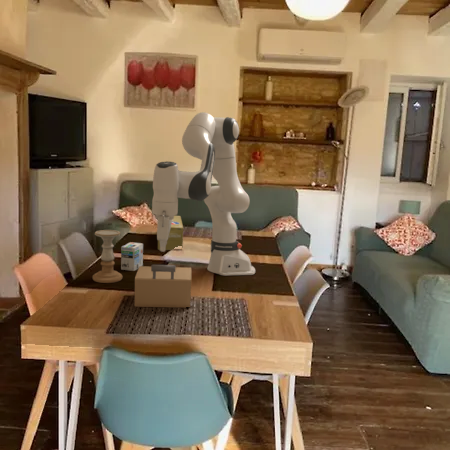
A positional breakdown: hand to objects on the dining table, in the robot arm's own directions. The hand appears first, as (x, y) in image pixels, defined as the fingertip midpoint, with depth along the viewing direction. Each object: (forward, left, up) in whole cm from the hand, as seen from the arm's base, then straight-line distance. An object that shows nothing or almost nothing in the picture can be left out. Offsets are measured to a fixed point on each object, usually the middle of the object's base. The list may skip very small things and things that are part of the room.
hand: (163, 247), depth 163 cm
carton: (0, -8, -22) cm, 23 cm away
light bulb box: (+17, -50, -22) cm, 57 cm away
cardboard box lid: (0, -7, -12) cm, 14 cm away
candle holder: (+25, -32, -22) cm, 46 cm away
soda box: (+2, -104, -23) cm, 107 cm away
